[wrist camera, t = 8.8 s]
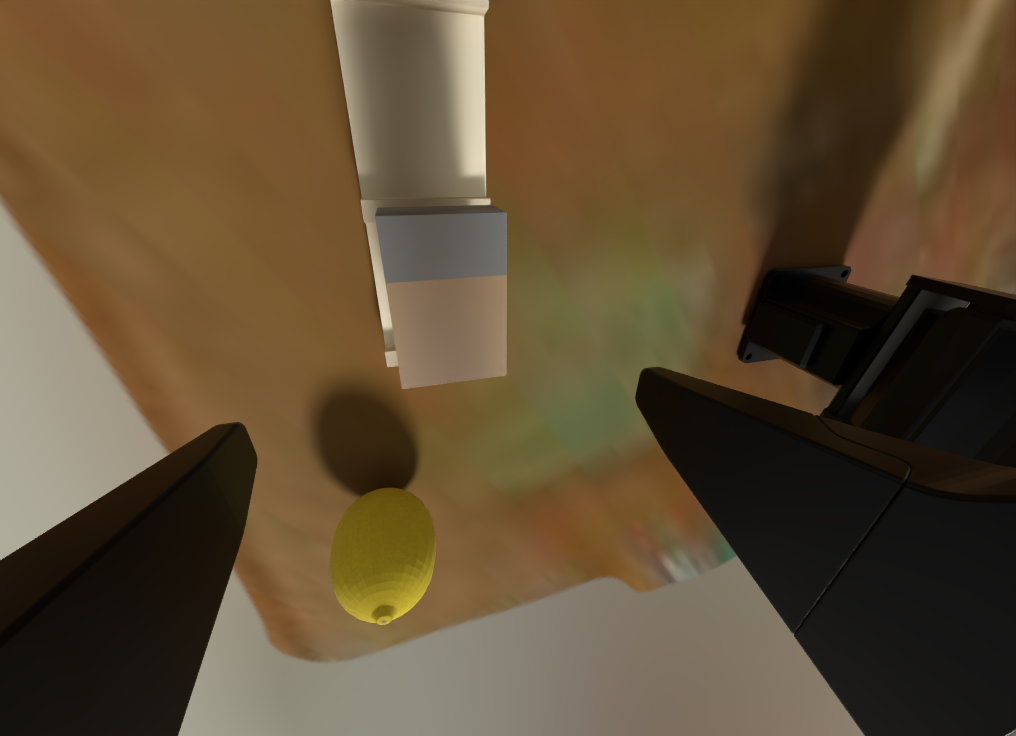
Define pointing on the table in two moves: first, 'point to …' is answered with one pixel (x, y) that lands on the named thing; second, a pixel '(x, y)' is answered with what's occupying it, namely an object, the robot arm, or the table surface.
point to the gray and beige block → (446, 290)
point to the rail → (413, 109)
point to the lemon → (383, 555)
